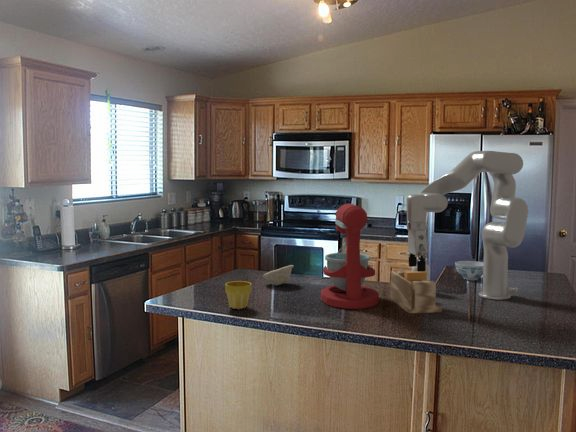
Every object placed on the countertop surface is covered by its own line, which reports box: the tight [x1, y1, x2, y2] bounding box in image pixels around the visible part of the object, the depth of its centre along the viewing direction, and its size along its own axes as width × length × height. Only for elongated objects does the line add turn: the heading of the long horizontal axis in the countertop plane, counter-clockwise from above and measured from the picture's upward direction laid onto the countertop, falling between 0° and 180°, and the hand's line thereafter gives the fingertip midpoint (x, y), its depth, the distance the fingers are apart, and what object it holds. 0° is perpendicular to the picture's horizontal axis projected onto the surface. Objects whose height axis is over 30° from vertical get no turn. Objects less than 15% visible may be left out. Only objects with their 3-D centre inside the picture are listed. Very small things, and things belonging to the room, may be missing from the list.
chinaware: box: [454, 260, 484, 281], centre depth 256 cm, size 15×15×8 cm
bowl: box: [262, 264, 294, 286], centre depth 245 cm, size 15×14×10 cm
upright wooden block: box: [403, 270, 427, 298], centre depth 207 cm, size 8×3×10 cm, turn 97°
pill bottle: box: [411, 257, 431, 281], centre depth 229 cm, size 8×8×15 cm
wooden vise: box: [389, 270, 443, 314], centre depth 208 cm, size 13×23×12 cm, turn 6°
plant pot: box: [224, 280, 253, 308], centre depth 204 cm, size 10×10×10 cm
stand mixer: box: [320, 203, 380, 310], centre depth 215 cm, size 24×32×40 cm
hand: (416, 268), depth 207 cm, fingers open, 9 cm apart
